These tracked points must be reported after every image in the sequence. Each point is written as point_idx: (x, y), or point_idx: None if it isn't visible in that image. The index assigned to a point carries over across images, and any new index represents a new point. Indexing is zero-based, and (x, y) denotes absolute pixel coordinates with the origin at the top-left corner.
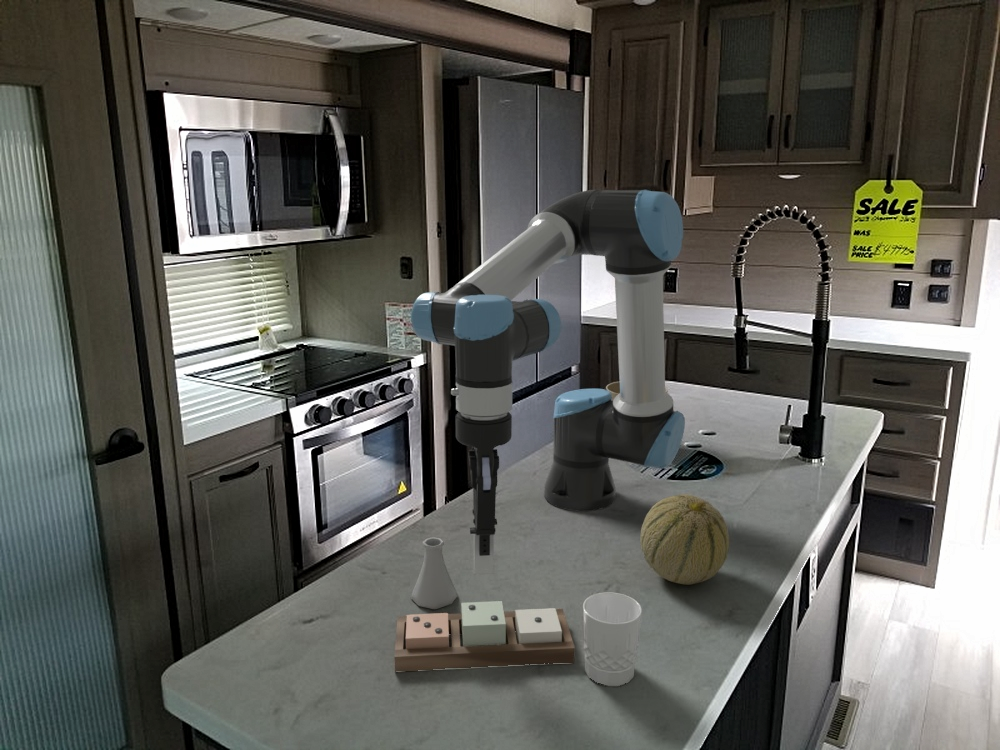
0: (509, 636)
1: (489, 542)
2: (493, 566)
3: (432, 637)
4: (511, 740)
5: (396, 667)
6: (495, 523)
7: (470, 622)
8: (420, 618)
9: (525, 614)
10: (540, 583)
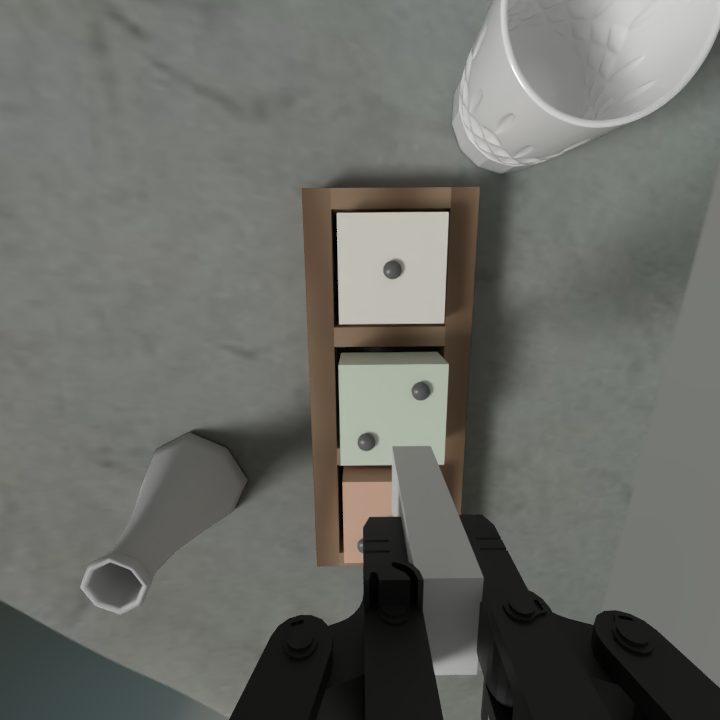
0: (414, 341)
1: (513, 566)
2: (436, 460)
3: None
4: (666, 353)
5: None
6: (420, 581)
7: (431, 447)
8: (361, 537)
9: (362, 300)
10: (117, 227)
